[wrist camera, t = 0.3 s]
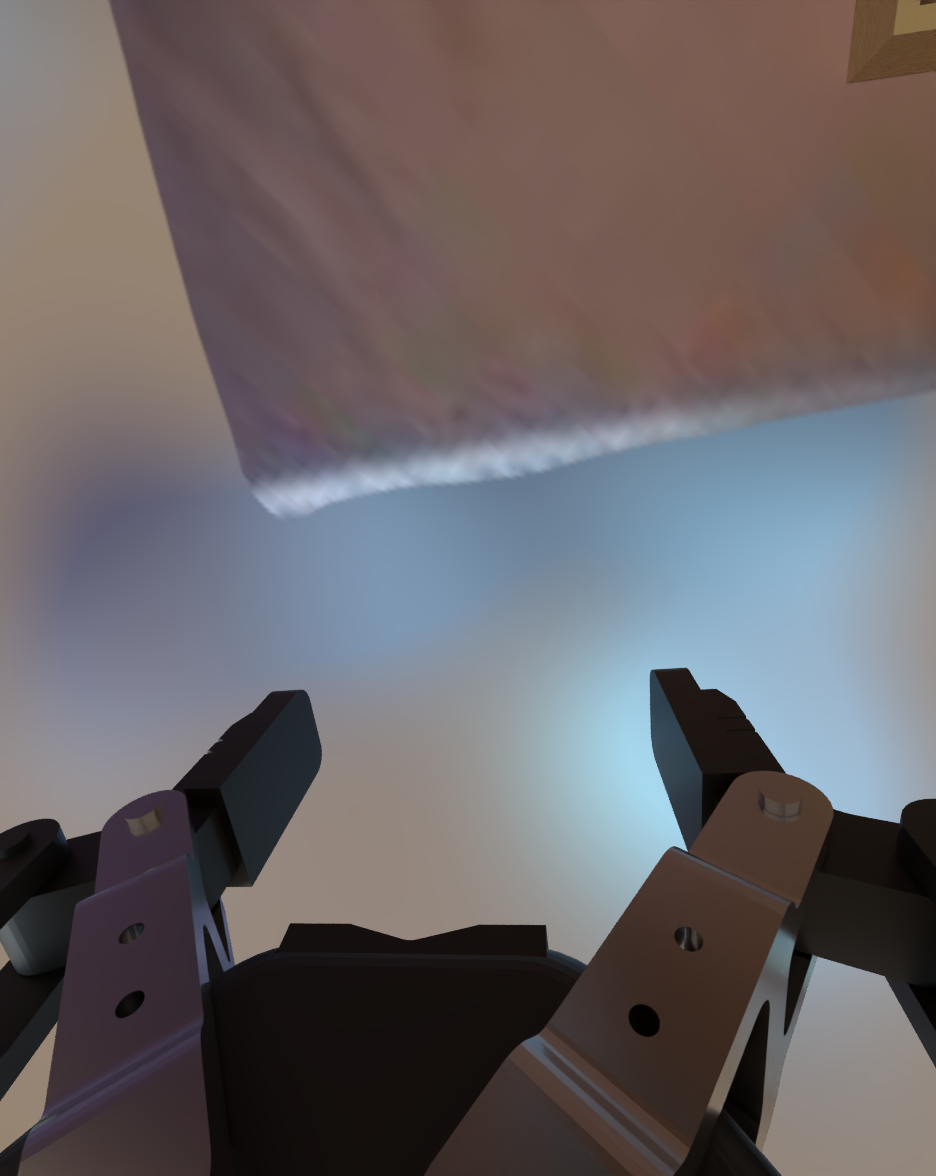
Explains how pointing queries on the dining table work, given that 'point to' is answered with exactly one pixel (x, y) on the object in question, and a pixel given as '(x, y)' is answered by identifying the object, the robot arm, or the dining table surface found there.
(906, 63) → the collar
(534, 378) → the dining table surface
